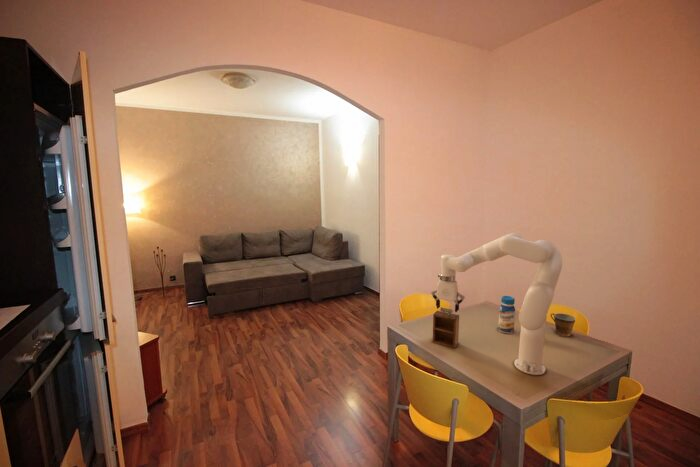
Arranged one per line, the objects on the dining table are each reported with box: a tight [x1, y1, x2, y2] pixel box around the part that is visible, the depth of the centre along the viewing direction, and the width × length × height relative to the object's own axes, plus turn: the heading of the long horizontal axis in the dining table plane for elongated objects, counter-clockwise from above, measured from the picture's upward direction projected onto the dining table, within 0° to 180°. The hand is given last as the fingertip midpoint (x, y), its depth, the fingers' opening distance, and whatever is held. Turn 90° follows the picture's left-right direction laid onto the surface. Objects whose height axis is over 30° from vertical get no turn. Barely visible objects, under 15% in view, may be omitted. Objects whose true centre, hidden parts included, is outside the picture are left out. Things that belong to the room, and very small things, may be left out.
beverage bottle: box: [497, 295, 516, 334], centre depth 183 cm, size 8×8×20 cm
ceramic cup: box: [550, 312, 576, 337], centre depth 181 cm, size 13×10×10 cm
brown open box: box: [432, 306, 460, 349], centre depth 170 cm, size 6×12×19 cm, turn 56°
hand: (447, 309), depth 169 cm, fingers open, 9 cm apart
